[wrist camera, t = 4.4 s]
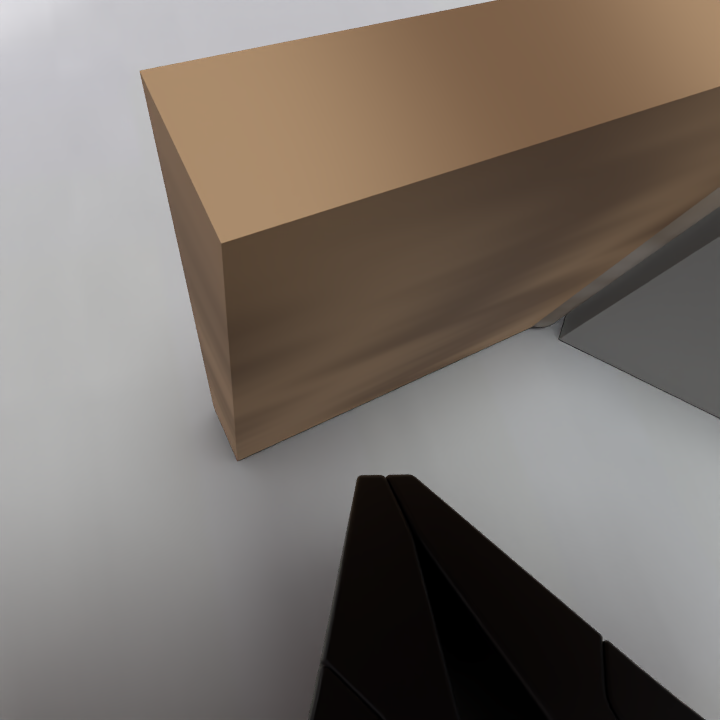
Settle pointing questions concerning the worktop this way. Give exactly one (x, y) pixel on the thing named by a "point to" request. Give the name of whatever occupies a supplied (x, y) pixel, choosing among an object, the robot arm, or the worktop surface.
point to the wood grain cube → (425, 189)
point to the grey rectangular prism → (662, 318)
